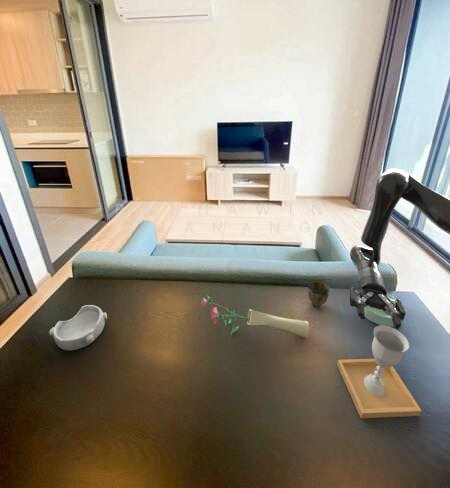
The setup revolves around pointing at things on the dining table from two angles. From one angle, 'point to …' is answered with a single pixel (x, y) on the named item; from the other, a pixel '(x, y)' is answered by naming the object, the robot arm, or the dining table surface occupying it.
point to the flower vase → (263, 320)
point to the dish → (79, 328)
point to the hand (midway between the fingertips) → (379, 322)
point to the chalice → (385, 356)
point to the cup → (317, 293)
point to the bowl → (379, 315)
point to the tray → (370, 405)
